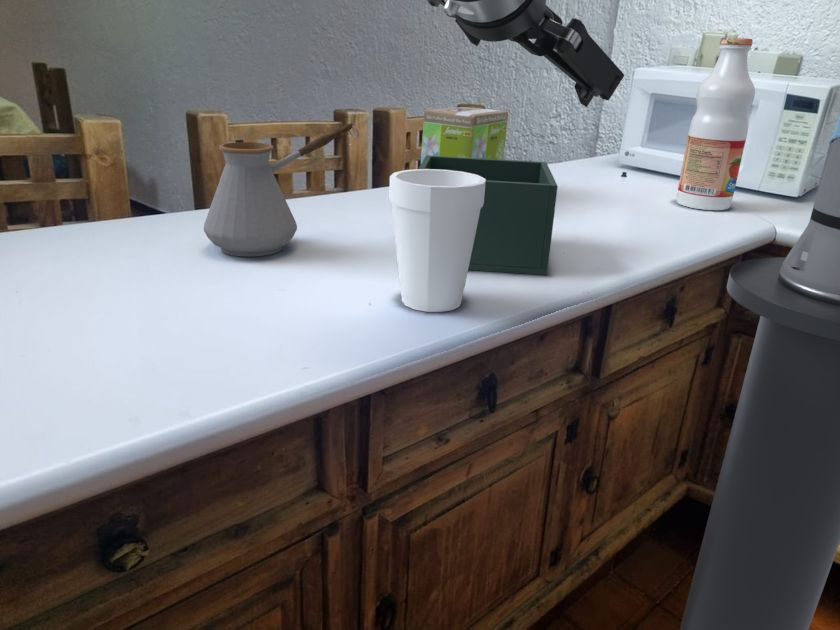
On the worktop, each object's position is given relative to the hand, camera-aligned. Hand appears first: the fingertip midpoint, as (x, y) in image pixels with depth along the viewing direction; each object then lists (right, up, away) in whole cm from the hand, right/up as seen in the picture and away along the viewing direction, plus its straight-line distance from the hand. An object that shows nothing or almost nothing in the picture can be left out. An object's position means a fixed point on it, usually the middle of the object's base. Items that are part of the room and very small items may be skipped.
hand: (534, 62), depth 68 cm
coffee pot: (-30, -17, +19) cm, 39 cm away
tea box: (-4, -4, +52) cm, 53 cm away
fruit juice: (+39, -6, +51) cm, 65 cm away
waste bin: (-4, -18, +19) cm, 26 cm away
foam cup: (-11, -25, +1) cm, 27 cm away
